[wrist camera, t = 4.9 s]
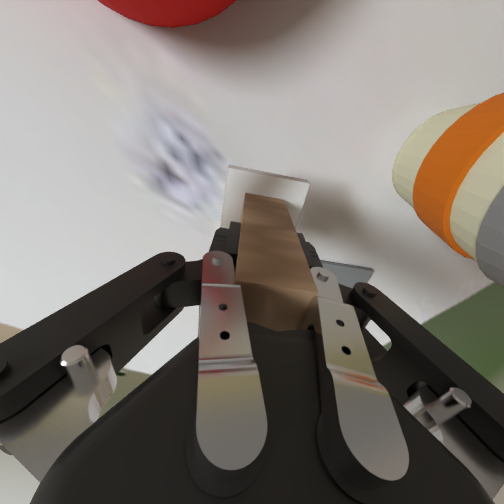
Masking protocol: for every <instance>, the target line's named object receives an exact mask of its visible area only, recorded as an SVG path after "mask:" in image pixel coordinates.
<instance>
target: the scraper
mask: <svg viewBox="0 0 504 504" xmlns="http://www.w3.org/2000/svg"><path fill="white" fill-rule="evenodd" d="M309 186H310V183H309V182H308V181H307V180H303V179H298V178H293V177H288V176H283V175H278V174H273V173H268V172H263V171H258V170H253V169H248V168H243V167H238V166H233V165H229V166H228V169H227V178H226V186H225V194H224V203H223V211H222V219H221V227H222V228H228V229H229V226H230V222H231V221H234V222H240V223H241V231H240V239H239V248H238V256H237V261H236V267H235V283H234V284H239V285H240V287H241V292H242V298H243V304H244V309H245V315H246V321H247V322H252V323H255V324H258V325H260V326H263V327H266V328H269V329H272V330H275V331H286V330H295V329H299V328H300V326H301V323H302V321H303V319H304V317H305V315H306V312H307V307H308V305H309V303H310V300H311V298H312V297H314V296H317V295H318V290H317V287H316V285H315V282H314V279H313V276H312V274H311V271H310V268H309V265H308V263H307V260H306V257H305V254H304V252H303V249H302V246H301V244H300V241H299V238H298V235H297V233H296V230H295V228H296V225H297V222H298V219H299V216H300V213H301V210H302V207H303V204H304V201H305V198H306V195H307V192H308V189H309Z"/></svg>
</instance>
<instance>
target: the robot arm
mask: <svg viewBox="0 0 504 504" xmlns="http://www.w3.org/2000/svg"><path fill="white" fill-rule="evenodd" d="M240 231H241V223H240V222H234V221H231V222H230V226H229V229H228V228H222V227H220V228H219V229H218V230H216V232H215V235H214V238H213V241H212V244H211V247H210V250H209V252H208V253H206V254H205V255H204V256H203V259H202V260H199V261H190V262H185V258H184V257H183V256H182V255H180V254H178V253H175V252H163V253H159V254H157V255H155V256H153V257H152V258H150V259H148V260H146V261H145V262H143V263H141V264H139V265H138V266H136V267H134V268H132V269H131V270H129V271H127V272H125V273H123V274H122V275H120V276H118V277H116V278H115V279H113V280H111V281H109V282H108V283H106V284H104V285H102V286H101V287H99V288H97V289H95V290H94V291H92V292H90V293H88V294H87V295H85V296H83V297H81V298H80V299H78V300H76V301H74V302H72V303H71V304H69V305H67V306H65V307H64V308H62V309H60V310H58V311H57V312H55V313H53V314H51V315H50V316H48V317H46V318H44V319H43V320H41V321H39V322H37V323H36V324H34V325H32V326H30V327H29V328H27V329H25V330H23V331H21V332H20V333H18V334H16V335H14V336H13V337H11V338H9V339H7V340H6V341H4V342H2V343H0V449H1V450H2V451H3V452H5V453H7V454H9V455H13V456H14V457H15V458H16V459H17V460H18V461H19V462H20V463H21V464H22V465H23V466H25V468H26V469H27V470H28V471H29V472H30V473H31V474H32V475H33V476H34V477H35V478H36V479H37V480H38V481H39V482H40V485H39V486H38V488H37V490H36V492H35V494H34V496H33V498H32V500H31V502H30V504H495V503H494V502H493V500H492V499H493V498H494V497H495V495H496V494H497V493H498V491H499V490H500V488H501V487H502V486H503V484H504V394H503V393H502V392H501V391H500V390H499V389H497V388H496V387H495V386H494V385H492V384H491V383H490V382H489V381H488V380H487V379H485V378H484V377H483V376H482V375H480V374H479V373H478V372H477V371H476V370H474V369H473V368H472V367H471V366H470V365H469V364H467V363H466V362H465V361H464V360H462V359H461V358H460V357H459V356H458V355H456V354H455V353H454V352H453V351H452V350H450V349H449V348H448V347H447V346H446V345H444V344H443V343H442V342H441V341H440V340H438V339H437V338H436V337H435V336H433V335H432V334H431V333H430V332H429V331H428V330H426V329H425V328H424V327H423V326H422V325H420V324H419V323H418V322H417V321H416V320H414V319H413V318H412V317H411V316H409V315H408V314H407V313H406V312H405V311H403V310H402V309H401V308H400V307H399V306H397V305H396V304H395V303H394V302H393V301H391V300H390V299H389V298H388V297H387V296H385V295H384V294H383V293H382V292H381V291H379V290H378V289H377V288H375V287H374V286H372V285H370V284H367V283H363V282H358V283H355V285H354V286H353V288H350V287H347V286H344V285H341V284H339V283H338V281H337V278H336V276H335V275H334V274H333V273H332V272H331V271H329V270H327V269H325V268H323V266H322V263H321V261H320V259H319V257H318V255H317V253H316V250H315V248H314V247H313V246H312V245H311V244H310V243H309V242H306V241H305V239H304V237H303V234H302V233H297V235H298V238H299V241H300V244H301V246H302V249H303V252H304V254H305V257H306V260H307V263H308V265H309V268H310V271H311V274H312V276H313V279H314V282H315V285H316V287H317V290H318V295H317V296H314V297H312V298H311V300H310V303H309V305H308V307H307V312H306V315H305V317H304V319H303V321H302V323H301V326H300V328H299V329H295V330H286V331H275V330H272V329H269V328H266V327H263V326H260V325H258V324H255V323H252V322H247V321H246V315H245V309H244V304H243V298H242V292H241V287H240V285H239V284H234V283H235V267H236V261H237V256H238V248H239V239H240ZM195 305H199V323H198V337H197V338H196V339H195V340H193V341H192V342H191V343H190V344H189V345H187V346H186V347H185V348H184V349H183V350H181V351H180V352H179V353H178V354H176V355H175V356H174V357H173V358H172V359H170V360H169V361H168V362H167V363H166V364H164V365H163V366H162V367H161V368H160V369H158V370H157V371H156V372H155V373H154V374H152V375H151V376H150V377H149V378H147V379H146V380H145V381H144V382H143V383H142V384H140V385H139V386H138V387H137V388H135V389H134V390H133V391H132V392H131V393H129V394H128V395H127V396H126V397H125V398H123V399H122V400H121V401H120V402H119V403H117V404H116V405H115V406H114V407H112V408H111V409H110V410H109V411H108V412H107V413H105V414H104V415H103V416H102V417H100V418H99V419H98V416H99V413H100V411H101V409H102V408H103V406H104V405H105V403H106V402H107V401H108V399H109V398H110V397H111V395H112V394H113V392H114V389H115V387H116V382H117V379H116V374H117V373H118V372H119V371H120V370H121V369H122V368H123V367H124V366H125V365H126V364H127V363H128V362H129V361H130V360H131V359H132V358H133V357H134V356H135V355H136V354H137V353H138V352H139V351H140V350H142V349H143V348H144V347H145V346H146V345H147V344H148V343H149V342H150V341H151V340H152V339H153V338H154V337H155V336H156V335H157V334H158V333H159V332H160V331H161V330H162V329H163V328H164V327H165V326H166V325H167V324H168V323H169V322H170V321H172V320H173V319H174V318H175V317H176V316H177V315H178V314H179V313H180V312H181V311H182V310H183V308H184V307H187V306H195ZM371 319H372V320H373V321H374V322H375V323H376V324H377V325H378V326H379V327H380V328H381V329H382V330H383V331H384V332H385V333H386V334H387V335H388V336H389V338H390V339H391V342H392V346H391V348H390V349H389V351H387V350H386V349H385V348H384V347H383V346H382V345H381V344H380V343H379V342H378V341H377V340H376V339H375V338H374V337H373V336H372V335H371V334H370V333H369V331H368V330H367V329H366V328H365V327H366V325H367V324H368V322H369V321H370V320H371Z"/></svg>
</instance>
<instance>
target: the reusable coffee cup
mask: <svg viewBox="0 0 504 504" xmlns="http://www.w3.org/2000/svg"><path fill="white" fill-rule="evenodd" d="M392 180H393V185H394V188H395V190H396V192H397V193H398V194H399V195H400V196H401V197H402V198H403V199H404V200H405V201H406V202H408V203H409V204H410V205H411V206H412V207H413V208H414V209H415V211H416V214H417V216H418V217H419V218H420V219H421V221H422V222H423V223H424V224H425V225H426V226H428V227H429V228H430V229H431V230H432V231H433V232H434V233H435V234H437V235H438V236H439V237H440V238H441V239H442V240H443V241H444V242H445V243H447V244H448V245H449V246H450V247H451V248H452V249H453V250H454V251H456V252H457V253H459V254H461V255H463V256H464V257H467V258H471V259H475V260H476V261H477V262H478V265H479V268H480V269H481V271H482V272H483V273H484V274H485V275H486V276H487V278H489V279H491V280H493V281H494V282H496V283H498V284H500V285H502V286H503V287H504V93H501V94H498V95H496V96H493V97H492V98H490V99H488V100H486V101H484V102H482V103H479V104H474V105H469V106H464V107H460V108H455V109H450V110H447V111H444V112H441V113H439V114H437V115H435V116H433V117H431V118H429V119H428V120H427V121H425V122H424V123H423V124H421V125H420V126H419V127H418V128H417V129H416V130H415V131H414V132H413V133H412V134H411V135H410V136H409V137H408V138H407V140H406V141H405V142H404V144H403V145H402V147H401V149H400V150H399V152H398V154H397V157H396V159H395V162H394V166H393V170H392Z"/></svg>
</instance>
